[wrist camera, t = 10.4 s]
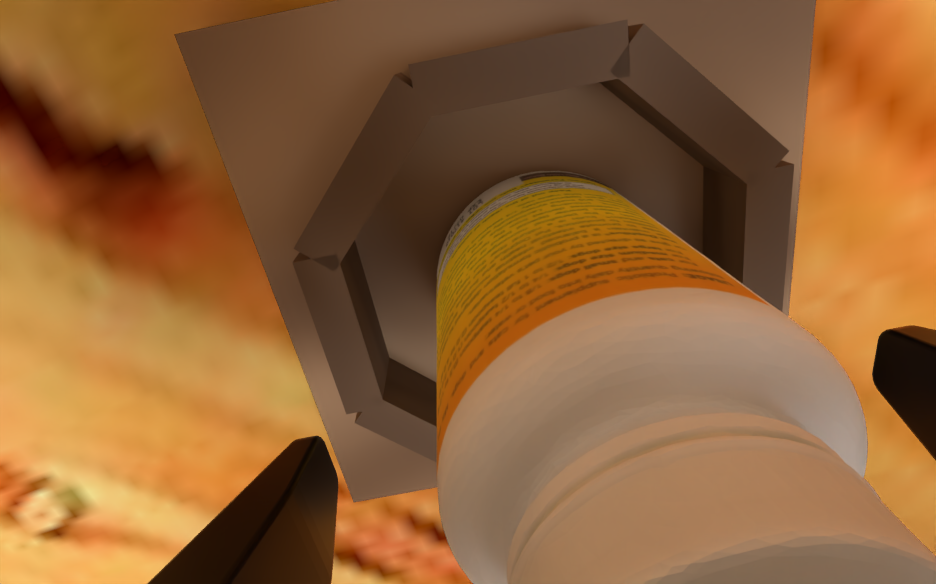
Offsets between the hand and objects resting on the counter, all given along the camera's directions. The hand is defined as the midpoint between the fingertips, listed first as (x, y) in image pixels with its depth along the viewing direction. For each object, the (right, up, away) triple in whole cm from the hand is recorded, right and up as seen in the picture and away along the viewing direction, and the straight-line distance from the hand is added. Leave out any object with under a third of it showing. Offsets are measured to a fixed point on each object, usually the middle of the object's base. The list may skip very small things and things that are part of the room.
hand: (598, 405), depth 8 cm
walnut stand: (0, +3, +7) cm, 8 cm away
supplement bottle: (0, +2, +6) cm, 6 cm away
